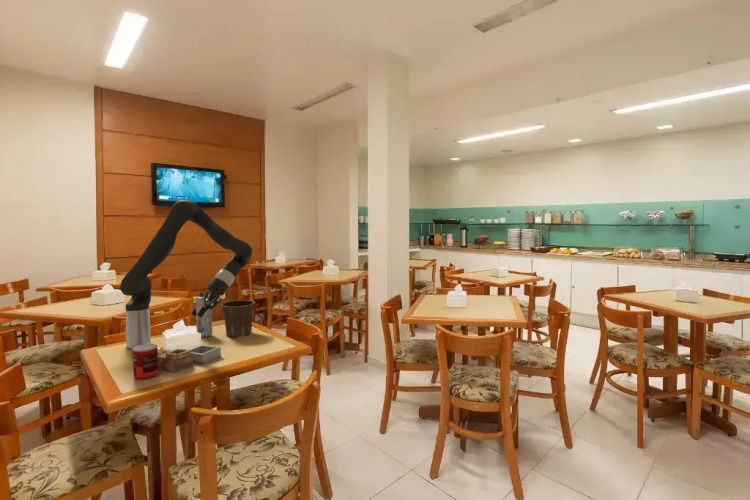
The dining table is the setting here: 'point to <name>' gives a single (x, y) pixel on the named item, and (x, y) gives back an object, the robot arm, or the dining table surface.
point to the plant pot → (238, 317)
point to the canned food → (145, 361)
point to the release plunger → (160, 350)
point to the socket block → (175, 360)
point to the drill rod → (202, 320)
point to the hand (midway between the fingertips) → (196, 315)
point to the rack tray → (205, 353)
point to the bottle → (208, 324)
